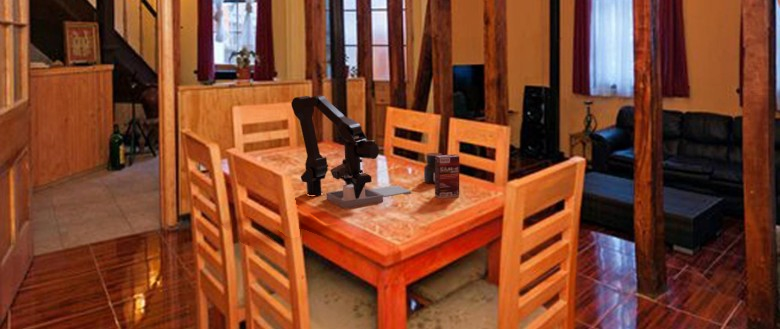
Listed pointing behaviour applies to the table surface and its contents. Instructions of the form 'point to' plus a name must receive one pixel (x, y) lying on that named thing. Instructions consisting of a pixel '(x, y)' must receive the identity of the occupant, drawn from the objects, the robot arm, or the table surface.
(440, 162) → the supplement box
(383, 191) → the mat
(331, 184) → the table surface
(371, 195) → the grey square tray
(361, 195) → the block
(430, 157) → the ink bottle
